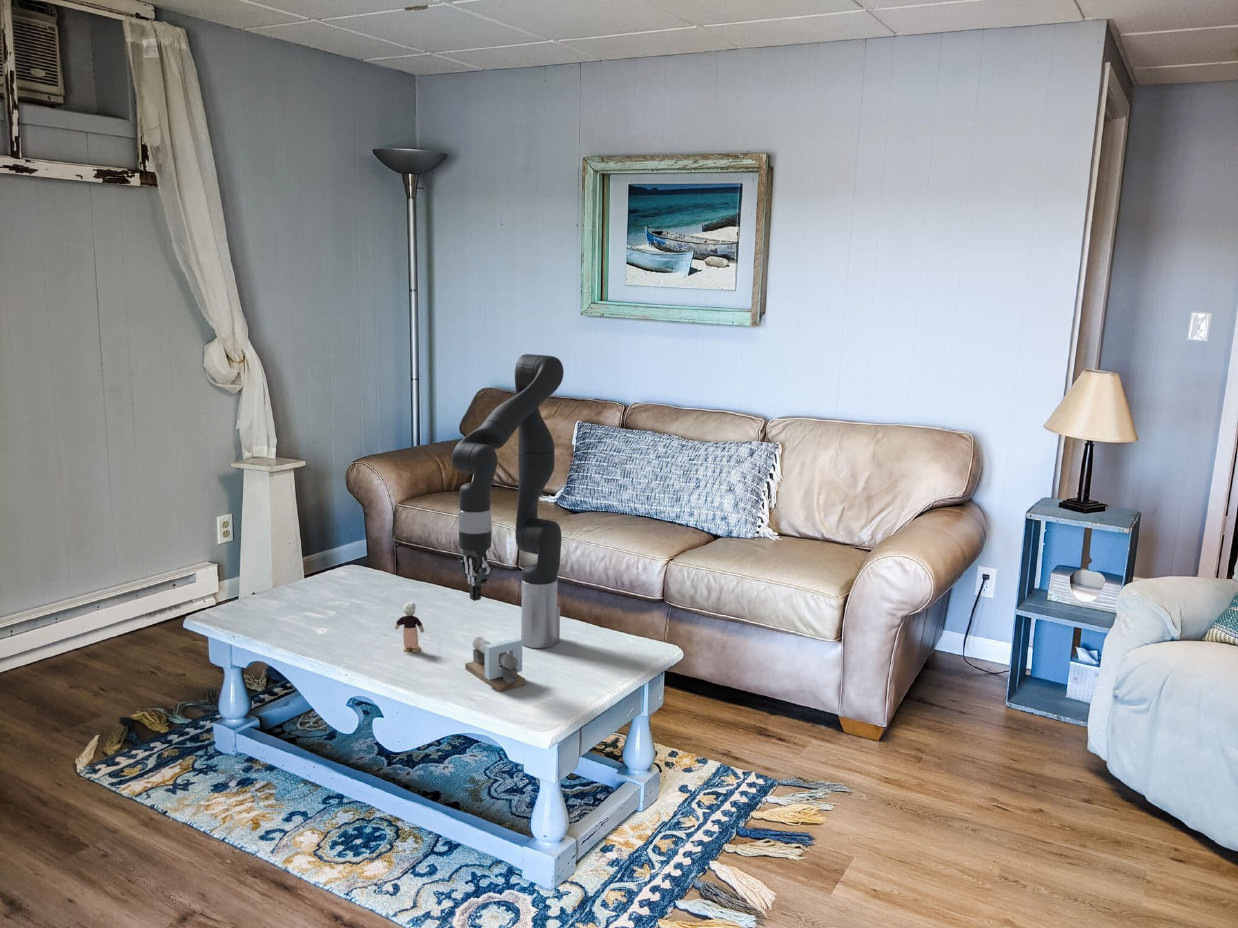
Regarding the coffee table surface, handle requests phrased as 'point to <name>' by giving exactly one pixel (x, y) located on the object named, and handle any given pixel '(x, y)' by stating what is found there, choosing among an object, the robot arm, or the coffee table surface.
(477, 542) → the robot arm
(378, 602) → the coffee table surface
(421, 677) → the coffee table surface
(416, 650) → the grandmother figurine
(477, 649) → the pipe stand
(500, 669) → the square plate with hole
